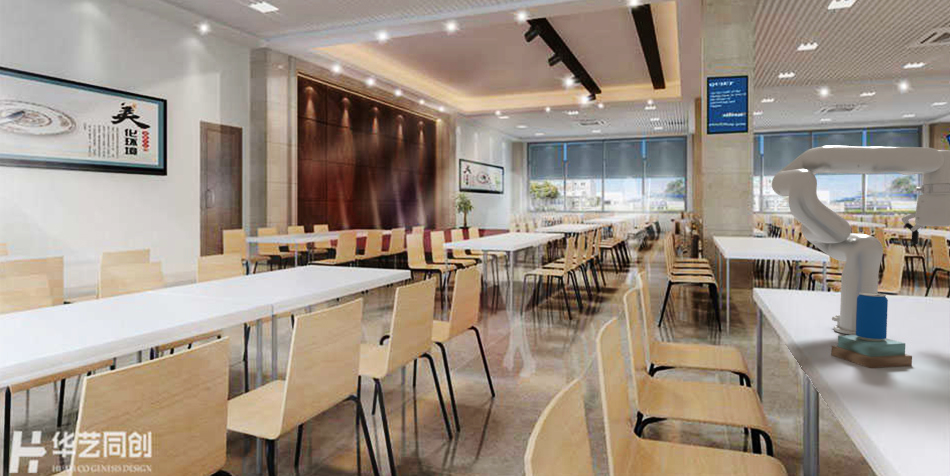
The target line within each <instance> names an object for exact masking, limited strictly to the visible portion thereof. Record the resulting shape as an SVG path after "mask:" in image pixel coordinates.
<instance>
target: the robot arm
mask: <svg viewBox="0 0 950 476" xmlns="http://www.w3.org/2000/svg"><path fill="white" fill-rule="evenodd" d="M824 173H829V174H830V173H832V174H833V173H834V174H853V175H855V174H856V175H857V174H859V175H873V174H874V175H875V174H876V175H878V174H883V173H885V174H886V173H897V174H898V175H899V174H900V175H907V176H910V175H918V174H919V175H920V174H922V185H921V186H917V187H916V192H920V193H921V194H918V197H917V202H916V207H915V212H914V213H910V214H908V215H906V216H903V217H901V221H902V222H903V224H904V227H906V228H907V229H908V230H909V231H911V242H913V244H914V245H918V244H919V238H920V237H919V229H920V228H921V227H950V149H936V148H933V147H922V146H921V147H918V146H857V145H855V146H851V145H850V146H849V145H823V146H817V147H813V148H809V149H807V150H806V151H804V152H802V153H801V154H799V156H798V157H796V158H795V159H794V160H792V161H791V162H790V163H789V164H788V163H787V165H785V167H783V168H782V169H781V170H779V171H778V172H777V173H776V174H775V175H774V177H773V178H772V180H771V187H772V191H773V192H774V193H775V194H777V195H779V196H782V197H788V206H789V211H790V213H791V214H792V216H793V217H794V219H796V220H797V221H798V222H799V223H801V227H800V229H801V232H802V235H803V237H804V238H805V239H806V240H807V241H808V242H809V243H811V244H812V245H814V246H815V247H816V248H818V249H819V250H820V251H822V252H823V253H824V254H826V255H827V256H828V257H831V258H833V260H837V261H839V262H844V263H845V264H844V266H843V269H842V271H841V278H840V307H839V308H840V309H839V310H840V311H839V314H835V316H832V318H831V320H832V321H834V322H837V323H836V325H834V326H833V330H834V332H837V333H840V334H844V335H856V312H857V297H858V296H859V293H862V292H869V293H878V291H879V290H878V289H879V274H880V273H879V271H880V266H881V262H882V259H883V255H884V247H883V244H882V243H881V241H880V240H879V238H876V237H875V236H872V235H870V234H866V233H865V234H864V233H852V228H851V225H850V224H849V222H848V221H847V220H846V218H843V217H842V216H841V215H839V214H838V213H836V212H835V211H833V210H832V209H831V208H829V207H828V206H827V205H825V204H824V203H823V202H822V201H821V200H820V199H819V197H818V193H817V189H818V181H817V180H818V179H817V176H816V175H817V174H824ZM913 218H914V222H915V225H913V224H911V222H909V220H911V219H913Z"/></svg>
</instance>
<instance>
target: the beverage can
mask: <svg viewBox="0 0 950 476" xmlns="http://www.w3.org/2000/svg"><path fill="white" fill-rule="evenodd" d="M886 296H887V295H886V294H885V293H869V292H862V293H859V296H858V297H857V312H856V336H858V337H859V338H860V339H862V340H867V341H883V340H884V339H886V338H887V336H888V335H887V334H888V333H887V332H888V330H887V329H888V307H889V306H888V305H889V303H888V302H889V300H888V297H886Z"/></svg>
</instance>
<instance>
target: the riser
mask: <svg viewBox="0 0 950 476" xmlns="http://www.w3.org/2000/svg"><path fill="white" fill-rule="evenodd" d="M830 350H831V353H830V355H831V356H833V357H836V358H839V359H842V360H846V361H847V362H852V363H854V364H857V365H860V366H864V367H867V368H869V369H876V368H890V367H891V368H893V367H907V366H908V367H909V366H912V365H913V355H910V354H907V353H906V343H905V342H902V341H897V340H893V339H890V338H887V337H886V339H884V340H883V341H867V340H862V339H860V338H859V337H858V336H856V335H848V334H844V335H838V336H837V345H831V349H830Z"/></svg>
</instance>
